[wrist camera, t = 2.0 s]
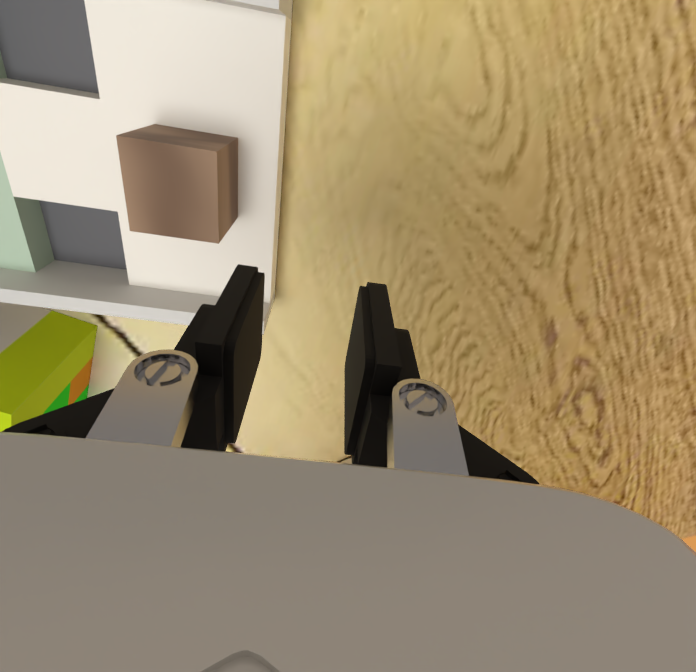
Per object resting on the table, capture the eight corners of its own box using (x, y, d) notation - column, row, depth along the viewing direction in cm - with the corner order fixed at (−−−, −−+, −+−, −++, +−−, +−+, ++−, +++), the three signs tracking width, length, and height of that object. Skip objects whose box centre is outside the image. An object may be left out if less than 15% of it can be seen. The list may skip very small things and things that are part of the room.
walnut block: (238, 137, 23) (216, 151, 19) (237, 217, 25) (218, 243, 21) (154, 123, 22) (115, 135, 18) (162, 206, 25) (129, 231, 21)
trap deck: (293, -3, 21) (278, -23, 17) (274, 298, 31) (262, 338, 26) (-195, -100, 19) (-365, -153, 15) (-50, 256, 29) (-124, 291, 24)
